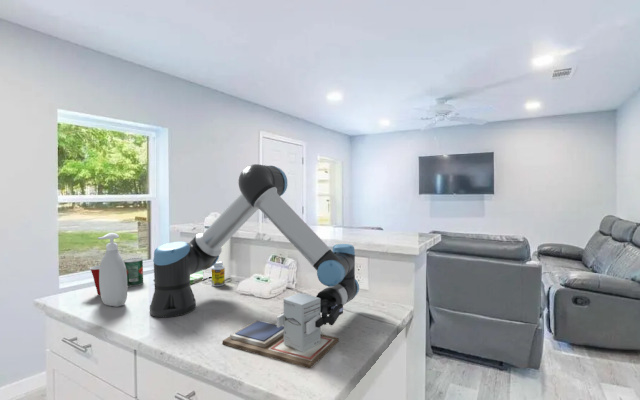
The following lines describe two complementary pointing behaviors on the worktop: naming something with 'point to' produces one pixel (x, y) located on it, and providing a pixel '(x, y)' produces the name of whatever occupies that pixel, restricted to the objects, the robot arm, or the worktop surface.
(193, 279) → the dish towel
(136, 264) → the canned tomato
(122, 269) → the soap bottle
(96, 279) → the plastic cup
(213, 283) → the supplement bottle
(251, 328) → the stamping board
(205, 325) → the worktop surface
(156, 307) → the robot arm
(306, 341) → the supplement box
